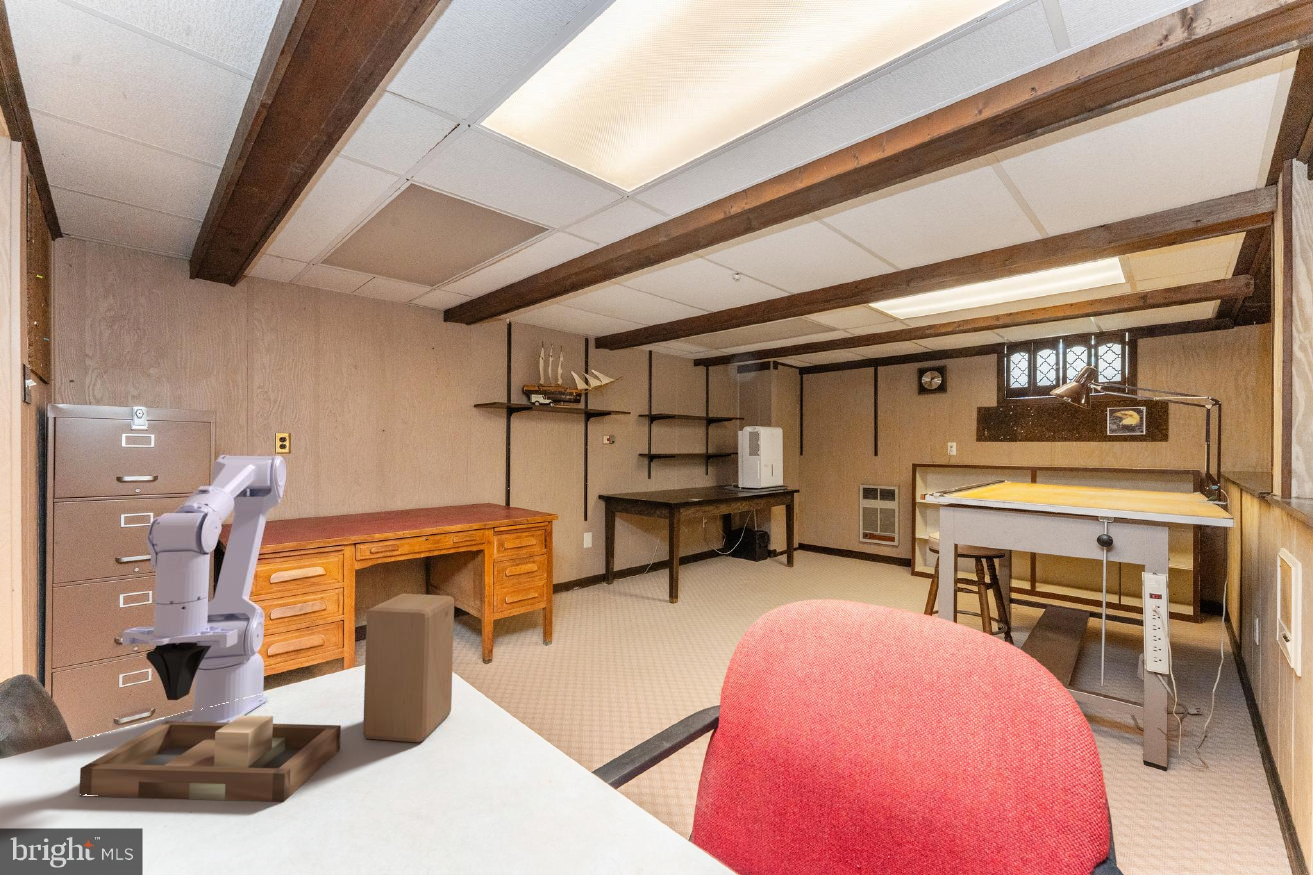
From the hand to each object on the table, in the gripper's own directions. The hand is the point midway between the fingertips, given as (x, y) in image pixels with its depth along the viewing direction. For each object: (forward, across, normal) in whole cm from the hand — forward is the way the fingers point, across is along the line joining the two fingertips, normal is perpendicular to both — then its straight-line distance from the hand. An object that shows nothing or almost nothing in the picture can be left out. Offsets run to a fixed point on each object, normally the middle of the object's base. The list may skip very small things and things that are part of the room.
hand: (178, 696), depth 76 cm
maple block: (+7, +10, -1) cm, 13 cm away
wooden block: (+10, +27, +12) cm, 31 cm away
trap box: (+9, +7, -1) cm, 12 cm away
